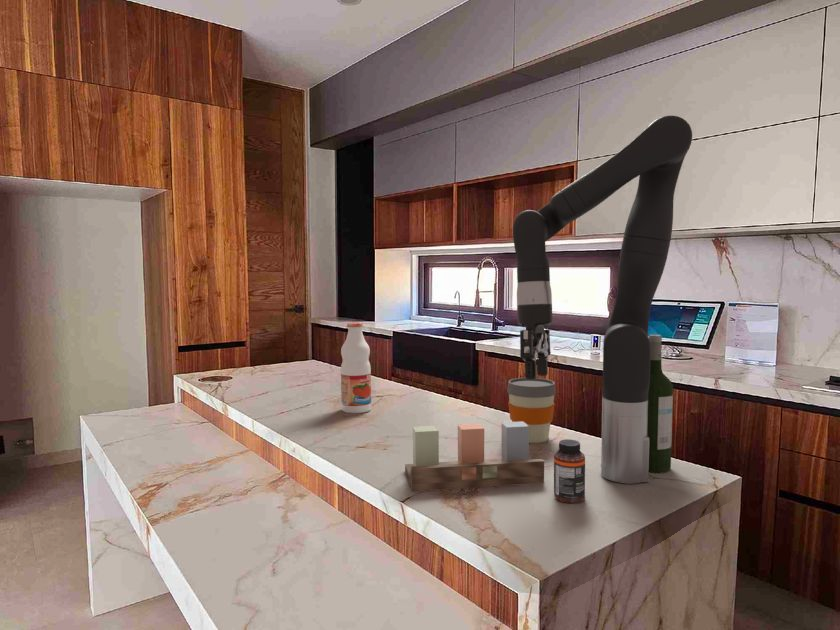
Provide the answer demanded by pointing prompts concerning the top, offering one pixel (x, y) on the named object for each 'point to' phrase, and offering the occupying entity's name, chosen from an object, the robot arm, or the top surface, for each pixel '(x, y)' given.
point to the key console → (474, 474)
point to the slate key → (515, 441)
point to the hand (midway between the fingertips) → (536, 377)
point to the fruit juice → (355, 371)
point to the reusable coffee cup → (532, 405)
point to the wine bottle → (659, 412)
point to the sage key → (425, 446)
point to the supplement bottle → (569, 472)
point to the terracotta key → (470, 443)
